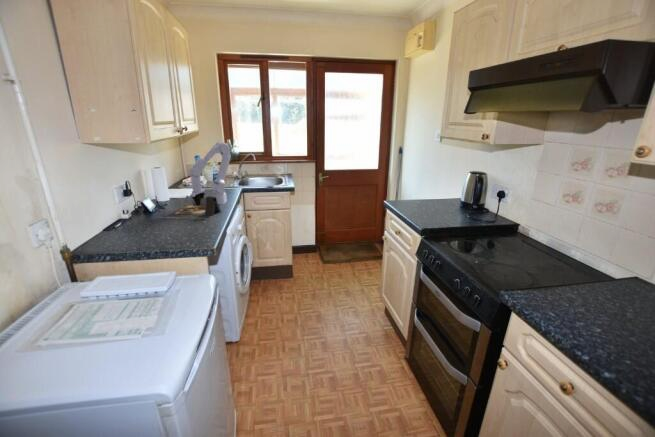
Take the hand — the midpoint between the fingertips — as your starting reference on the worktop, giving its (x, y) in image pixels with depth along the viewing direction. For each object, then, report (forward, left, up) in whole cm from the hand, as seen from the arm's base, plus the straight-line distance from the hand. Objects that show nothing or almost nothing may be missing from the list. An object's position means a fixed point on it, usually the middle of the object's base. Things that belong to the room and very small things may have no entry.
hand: (199, 204), depth 205 cm
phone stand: (+13, +15, -3) cm, 20 cm away
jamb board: (+6, -1, -3) cm, 6 cm away
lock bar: (0, 0, -1) cm, 1 cm away
